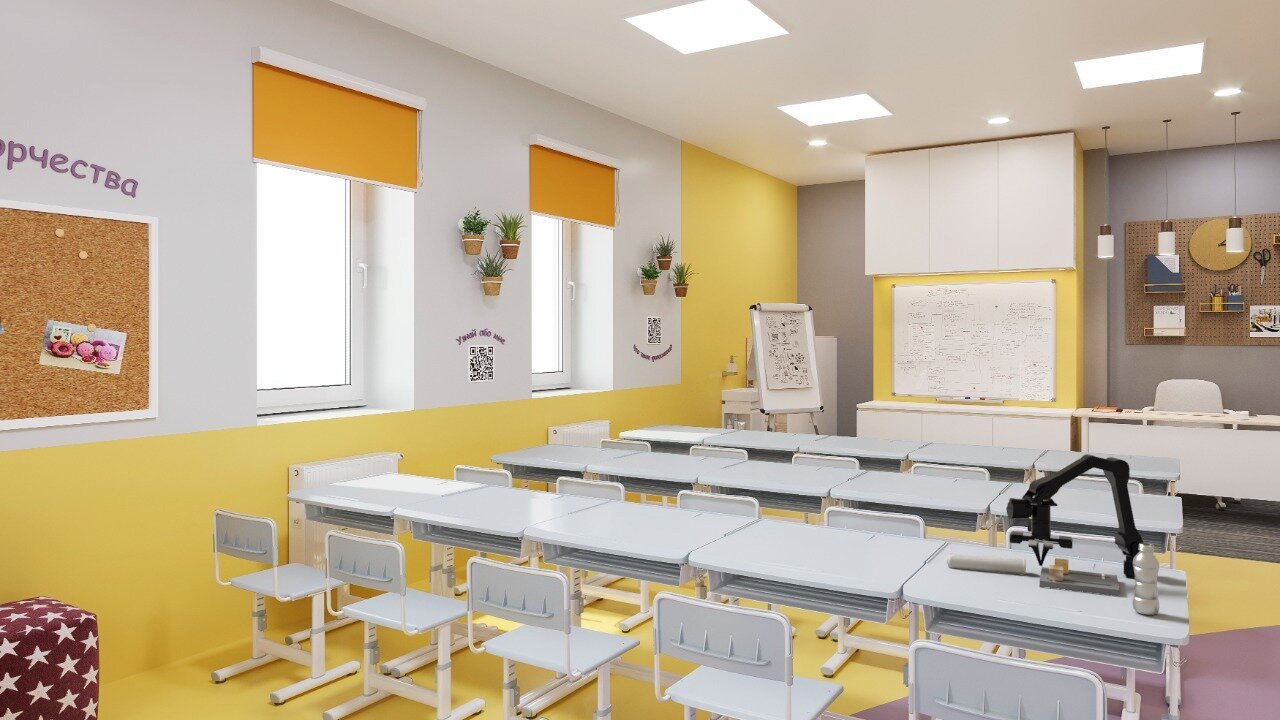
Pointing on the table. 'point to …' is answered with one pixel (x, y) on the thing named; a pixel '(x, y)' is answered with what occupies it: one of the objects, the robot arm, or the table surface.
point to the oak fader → (1055, 572)
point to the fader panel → (1082, 582)
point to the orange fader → (1062, 564)
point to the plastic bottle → (1146, 580)
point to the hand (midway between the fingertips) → (1040, 565)
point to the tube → (987, 563)
